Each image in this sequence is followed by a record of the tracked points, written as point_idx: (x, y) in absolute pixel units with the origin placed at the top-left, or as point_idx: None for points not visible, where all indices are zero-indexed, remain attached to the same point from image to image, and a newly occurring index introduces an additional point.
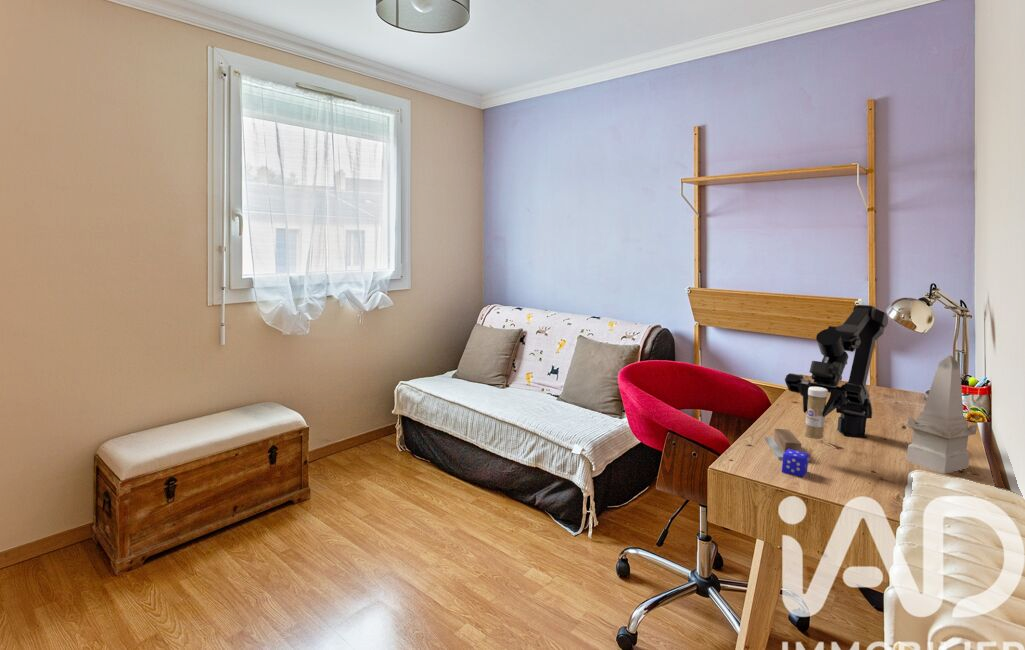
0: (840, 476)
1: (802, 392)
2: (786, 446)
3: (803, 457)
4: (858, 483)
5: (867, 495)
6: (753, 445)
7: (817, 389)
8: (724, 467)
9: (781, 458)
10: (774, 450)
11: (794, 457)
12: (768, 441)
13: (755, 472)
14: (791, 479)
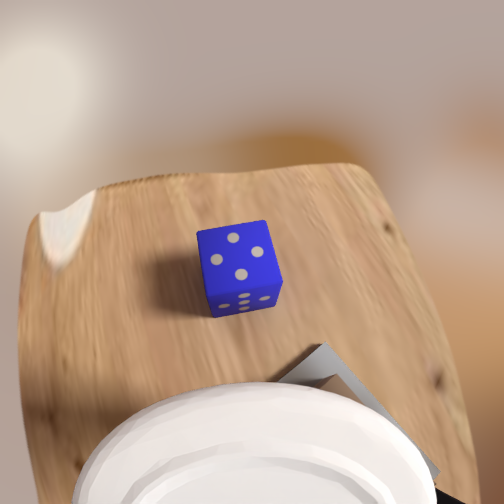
0: (128, 356)
1: (459, 502)
2: (328, 378)
3: (203, 237)
4: (82, 337)
5: (60, 272)
6: (431, 392)
7: (217, 457)
8: (360, 178)
9: (316, 349)
10: (364, 387)
11: (229, 227)
12: (417, 448)
13: (303, 200)
14: (220, 225)
